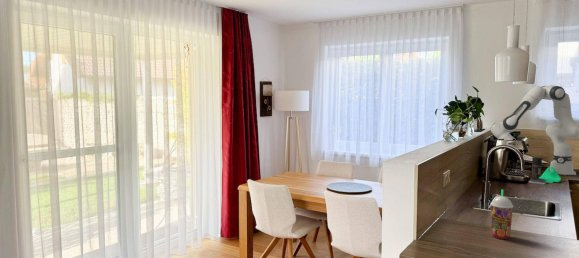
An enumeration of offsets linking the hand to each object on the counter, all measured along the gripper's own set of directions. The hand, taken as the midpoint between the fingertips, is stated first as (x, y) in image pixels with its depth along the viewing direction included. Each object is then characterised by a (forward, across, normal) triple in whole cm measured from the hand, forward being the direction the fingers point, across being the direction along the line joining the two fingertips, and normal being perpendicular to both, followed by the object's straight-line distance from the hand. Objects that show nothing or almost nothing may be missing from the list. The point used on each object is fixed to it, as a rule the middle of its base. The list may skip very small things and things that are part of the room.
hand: (521, 154), depth 293 cm
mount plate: (+22, -19, +1) cm, 29 cm away
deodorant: (+19, 0, +5) cm, 20 cm away
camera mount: (+26, -9, -2) cm, 28 cm away
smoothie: (+33, -157, -10) cm, 161 cm away
